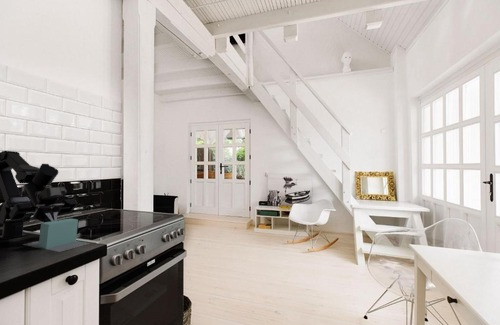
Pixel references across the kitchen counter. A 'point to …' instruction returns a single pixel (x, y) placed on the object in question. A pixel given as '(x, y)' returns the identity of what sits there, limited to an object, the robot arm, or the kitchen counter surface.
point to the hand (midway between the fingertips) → (54, 226)
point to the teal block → (58, 233)
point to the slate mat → (60, 247)
